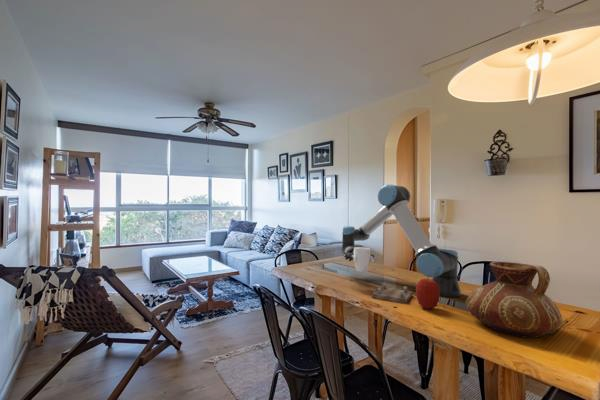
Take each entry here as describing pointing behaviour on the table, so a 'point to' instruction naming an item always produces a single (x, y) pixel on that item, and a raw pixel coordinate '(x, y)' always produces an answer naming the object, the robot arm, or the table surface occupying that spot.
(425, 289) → the apple
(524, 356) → the table surface
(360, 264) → the cup
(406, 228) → the robot arm
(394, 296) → the peg stand
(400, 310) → the table surface
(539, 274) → the jug
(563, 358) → the table surface
